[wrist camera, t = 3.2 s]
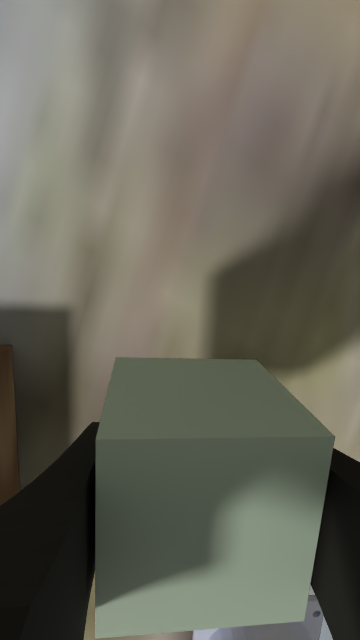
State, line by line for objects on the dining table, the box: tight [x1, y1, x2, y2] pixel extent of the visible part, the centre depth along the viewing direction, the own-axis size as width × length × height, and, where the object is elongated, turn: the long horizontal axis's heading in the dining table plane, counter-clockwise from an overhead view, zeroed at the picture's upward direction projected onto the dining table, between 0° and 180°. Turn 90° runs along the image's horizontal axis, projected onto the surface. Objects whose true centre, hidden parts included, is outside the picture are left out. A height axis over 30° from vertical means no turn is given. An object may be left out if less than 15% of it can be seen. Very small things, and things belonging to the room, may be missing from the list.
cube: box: [95, 357, 335, 639], centre depth 10 cm, size 5×5×5 cm
